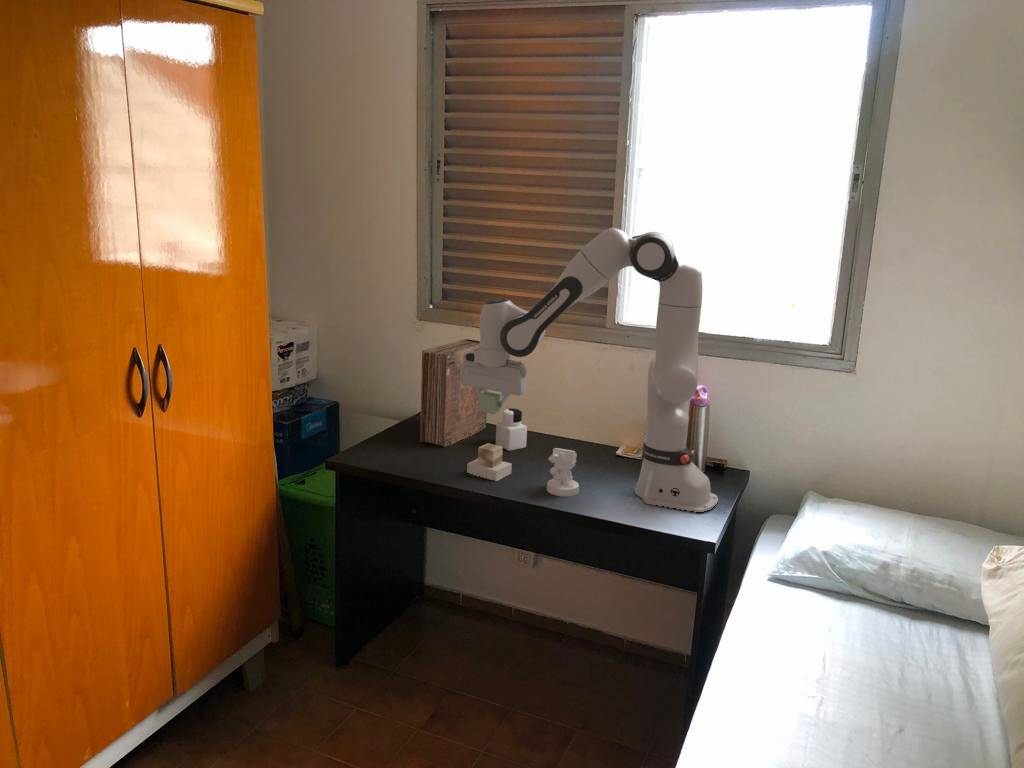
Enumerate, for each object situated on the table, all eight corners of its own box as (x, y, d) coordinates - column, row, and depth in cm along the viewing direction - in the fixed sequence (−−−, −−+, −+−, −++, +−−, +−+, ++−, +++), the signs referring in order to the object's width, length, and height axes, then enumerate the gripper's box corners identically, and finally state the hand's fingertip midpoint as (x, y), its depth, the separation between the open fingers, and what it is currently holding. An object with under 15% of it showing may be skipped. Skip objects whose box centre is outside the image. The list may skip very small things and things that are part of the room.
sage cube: (504, 410, 230) (504, 393, 229) (494, 414, 226) (495, 396, 225) (489, 407, 233) (489, 390, 232) (479, 410, 229) (480, 393, 227)
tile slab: (511, 473, 235) (511, 463, 234) (496, 481, 228) (496, 471, 227) (482, 465, 240) (482, 456, 239) (467, 473, 233) (467, 463, 232)
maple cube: (501, 463, 234) (502, 446, 233) (492, 467, 230) (493, 451, 229) (487, 459, 237) (488, 443, 235) (477, 464, 232) (478, 447, 231)
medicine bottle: (512, 441, 264) (514, 405, 261) (526, 447, 258) (528, 411, 255) (495, 444, 259) (496, 408, 256) (508, 451, 254) (510, 414, 251)
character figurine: (542, 493, 221) (545, 451, 218) (553, 481, 230) (555, 441, 227) (573, 498, 219) (576, 456, 216) (583, 486, 227) (586, 446, 224)
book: (443, 448, 253) (446, 354, 246) (419, 443, 258) (421, 350, 250) (486, 429, 275) (489, 342, 267) (463, 424, 279) (466, 338, 272)
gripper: (532, 360, 223) (529, 409, 227) (470, 350, 233) (468, 396, 237) (520, 364, 218) (518, 414, 221) (457, 353, 228) (456, 401, 231)
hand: (492, 405), depth 229 cm, fingers closed on sage cube, 5 cm apart
